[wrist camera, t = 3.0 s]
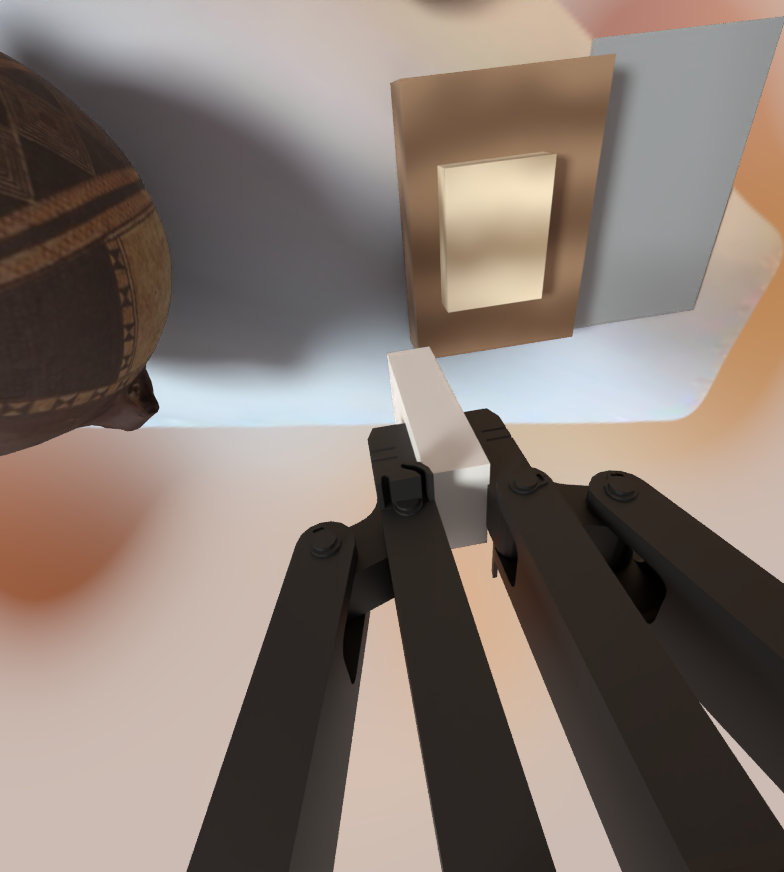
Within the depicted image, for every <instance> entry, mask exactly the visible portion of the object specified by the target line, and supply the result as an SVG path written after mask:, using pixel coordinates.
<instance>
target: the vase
mask: <svg viewBox="0 0 784 872" xmlns="http://www.w3.org/2000/svg"><path fill="white" fill-rule="evenodd" d="M171 281H172V268H171V260H170V252H169V247H168V242H167V238H166V235H165V231H164V228H163V225H162V222H161V220H160V217H159V215H158V213H157V210H156V208H155V206H154V203H153V201H152V199H151V198H150V196H149V194H148V192H147V190H146V188H145V186H144V185H143V183H142V181H141V179H140V177H139V175H138V174H137V172H136V171H135V169H134V168H133V166H132V164H131V163H130V162H129V160H128V159H127V157H126V156H125V155H124V153H123V152H122V151H121V150H120V149H119V148H118V146H117V145H116V144H115V143H114V142H113V141H112V139H111V138H110V137H109V136H108V135H107V134H106V133H105V132H104V131H103V130H102V129H101V128H100V127H99V126H98V125H97V124H96V123H95V122H94V121H93V120H92V119H91V118H90V117H89V116H88V115H87V114H86V113H85V112H84V111H82V110H81V109H80V108H79V107H78V106H77V105H75V104H74V103H73V102H72V101H71V100H69V99H68V98H67V97H66V96H65V95H63V94H62V93H61V92H60V91H59V90H57V89H56V88H55V87H54V86H52V85H51V84H50V83H48V82H47V81H45V80H44V79H42V78H41V77H40V76H38V75H37V74H35V73H34V72H32V71H31V70H29V69H28V68H26V67H25V66H24V65H22V64H21V63H19V62H18V61H16V60H14V59H12V58H11V57H9V56H7V55H5V54H4V53H2V52H0V456H2V455H7V454H10V453H13V452H16V451H20V450H23V449H26V448H29V447H32V446H35V445H38V444H41V443H43V442H45V441H48V440H50V439H52V438H55V437H57V436H60V435H62V434H64V433H66V432H69V431H71V430H74V429H76V428H80V427H85V426H90V425H94V426H102V427H104V428H112V429H121V430H125V431H133V430H136V429H138V428H140V427H141V426H142V425H143V424H144V423H145V422H146V421H147V420H149V419H150V418H151V417H152V416H153V415H154V414H155V413H157V412H158V410H159V405H158V402H157V400H156V398H155V396H154V393H153V386H152V382H151V380H150V377H149V375H148V373H147V370H146V363H147V361H148V360H149V358H150V357H151V355H152V353H153V351H154V350H155V348H156V345H157V343H158V341H159V339H160V336H161V333H162V330H163V327H164V325H165V322H166V319H167V315H168V311H169V305H170V299H171Z"/></svg>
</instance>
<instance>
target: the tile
mask: <svg viewBox="0 0 784 872" xmlns="http://www.w3.org/2000/svg"><path fill="white" fill-rule="evenodd" d="M556 157H557V154H556V153H549V152H536V153H529V154H521V155H513V156H506V157H498V158H490V159H483V160H475V161H468V162H460V163H452V164H445V165H437V170H438V202H439V234H440V266H441V297H442V304H443V306H444V307H445V309H446V310H447V312H448V313H449V312H456V311H462V310H469V309H475V308H482V307H488V306H495V305H502V304H508V303H515V302H521V301H528V300H534V299H541V298H542V290H543V280H544V271H545V261H546V252H547V242H548V233H549V223H550V214H551V204H552V195H553V185H554V176H555V167H556Z"/></svg>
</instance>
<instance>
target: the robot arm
mask: <svg viewBox="0 0 784 872" xmlns="http://www.w3.org/2000/svg"><path fill="white" fill-rule="evenodd" d="M387 356H388V365H389V374H390V382H391V391H392V400H393V408H394V417H395V421H396V425H390V426H384V427H378V428H373V429H372V431H371V433H370V436H369V438H368V445H369V450H370V456H371V463H372V469H373V475H374V481H375V486H376V492H377V504H376V507H375V509H374V510H373V512H372V513H371V514H370V515H369V516H368V517H367V518H366V519H364V520H362V521H361V522H359V523H357V524H355V525H353V526H350V527H347V526H346V525H344V524H342V523H339V522H332V521H330V522H323V523H319V524H317V525H314V526H312V527H310V528H309V529H308V530H306V531H305V532H304V533H303V534H302V535H301V536H300V538H299V540H298V542H297V543H296V546H295V549H294V552H293V555H292V558H291V561H290V564H289V567H288V570H287V573H286V576H285V579H284V582H283V585H282V588H281V591H280V594H279V597H278V600H277V603H276V606H275V609H274V612H273V615H272V618H271V621H270V624H269V627H268V630H267V633H266V636H265V639H264V642H263V645H262V648H261V651H260V654H259V657H258V660H257V663H256V666H255V669H254V671H253V674H252V677H251V681H250V684H249V687H248V689H247V692H246V696H245V698H244V701H243V704H242V707H241V711H240V713H239V716H238V719H237V722H236V725H235V728H234V731H233V734H232V738H231V740H230V743H229V746H228V749H227V752H226V755H225V758H224V761H223V764H222V767H221V770H220V773H219V776H218V779H217V782H216V785H215V788H214V791H213V794H212V797H211V800H210V803H209V806H208V809H207V812H206V815H205V818H204V821H203V824H202V827H201V830H200V833H199V836H198V839H197V842H196V845H195V848H194V851H193V854H192V857H191V860H190V863H189V866H188V869H187V872H333V868H334V860H335V854H336V847H337V840H338V834H339V827H340V819H341V813H342V805H343V798H344V791H345V784H346V778H347V770H348V763H349V756H350V750H351V743H352V736H353V729H354V721H355V715H356V707H357V701H358V694H359V687H360V679H361V673H362V666H363V659H364V652H365V644H366V638H367V631H368V624H369V617H370V610H372V609H374V608H376V607H378V606H379V605H382V604H383V603H385V602H387V601H389V600H390V599H393V598H395V604H396V610H397V616H398V621H399V627H400V632H401V638H402V644H403V650H404V656H405V661H406V667H407V673H408V679H409V684H410V689H411V696H412V702H413V707H414V713H415V718H416V725H417V730H418V735H419V742H420V747H421V753H422V759H423V764H424V771H425V776H426V782H427V787H428V793H429V799H430V805H431V811H432V817H433V822H434V828H435V834H436V839H437V845H438V850H439V856H440V862H441V868H442V872H556V869H555V866H554V863H553V860H552V857H551V854H550V851H549V848H548V845H547V842H546V839H545V836H544V833H543V829H542V826H541V823H540V820H539V817H538V814H537V811H536V808H535V805H534V802H533V799H532V796H531V793H530V790H529V787H528V783H527V780H526V777H525V774H524V771H523V768H522V765H521V762H520V759H519V756H518V753H517V750H516V747H515V744H514V741H513V738H512V734H511V731H510V729H509V726H508V722H507V719H506V716H505V713H504V710H503V707H502V704H501V701H500V698H499V695H498V692H497V689H496V686H495V682H494V679H493V677H492V674H491V670H490V667H489V664H488V661H487V658H486V655H485V652H484V649H483V646H482V643H481V640H480V637H479V633H478V631H477V627H476V624H475V622H474V618H473V615H472V612H471V609H470V606H469V603H468V600H467V597H466V594H465V591H464V588H463V585H462V581H461V578H460V575H459V572H458V569H457V566H456V563H455V560H454V557H453V554H452V551H451V549H454V548H459V547H465V546H470V545H476V544H481V543H487V529H488V531H489V534H490V536H491V538H492V540H493V557H492V575H493V578H495V577H497V570H499V573H500V575H501V578H502V580H503V582H504V585H505V588H506V590H507V592H508V595H509V597H510V599H511V602H512V605H513V607H514V609H515V612H516V614H517V617H518V619H519V622H520V624H521V627H522V629H523V631H524V634H525V636H526V639H527V641H528V643H529V646H530V648H531V651H532V653H533V656H534V658H535V660H536V663H537V666H538V668H539V670H540V673H541V675H542V678H543V680H544V683H545V685H546V687H547V690H548V692H549V695H550V697H551V700H552V702H553V705H554V707H555V709H556V712H557V714H558V717H559V719H560V721H561V724H562V726H563V729H564V731H565V734H566V736H567V739H568V741H569V744H570V746H571V748H572V751H573V753H574V756H575V758H576V761H577V763H578V766H579V768H580V770H581V773H582V775H583V778H584V780H585V782H586V785H587V788H588V790H589V792H590V795H591V797H592V800H593V802H594V805H595V807H596V809H597V812H598V814H599V817H600V819H601V821H602V824H603V826H604V829H605V831H606V834H607V836H608V839H609V841H610V844H611V846H612V848H613V851H614V853H615V856H616V858H617V860H618V863H619V866H620V868H621V870H622V872H784V829H783V828H782V826H781V825H780V823H779V822H778V820H777V819H776V817H775V816H774V814H773V813H772V811H771V810H770V808H769V806H768V805H767V804H766V802H765V801H764V799H763V798H762V796H761V794H760V793H759V791H758V790H757V788H756V787H755V785H754V784H753V782H752V781H751V779H750V778H749V776H748V775H747V773H746V772H745V770H744V769H743V767H742V766H741V764H740V763H739V761H738V760H737V758H736V757H735V755H734V754H733V752H732V751H731V749H730V748H729V747H728V745H727V743H726V742H725V740H724V739H723V737H722V736H721V734H720V733H719V731H718V730H717V728H716V727H715V725H714V724H713V722H712V721H711V719H710V718H709V716H708V715H707V713H706V711H705V710H704V709H703V707H702V705H703V706H704V707H705V708H706V710H707V711H708V712H709V713H710V714H711V715H712V716H713V717H714V718H715V719H716V720H717V721H718V723H720V725H721V726H722V727H723V728H724V729H725V730H726V731H727V732H728V733H729V734H730V735H731V737H732V738H733V739H734V740H735V741H736V742H737V743H738V744H739V745H740V746H741V747H742V748H743V749H744V751H745V752H746V753H747V754H748V755H749V756H750V757H751V758H752V759H753V760H754V761H755V763H756V764H757V765H758V766H759V767H760V768H761V769H762V770H763V771H764V772H765V773H766V774H767V776H769V778H770V779H771V780H772V781H773V782H774V783H775V784H776V785H777V786H778V787H779V788H780V790H782V792H783V793H784V583H782V582H781V581H779V580H778V579H776V578H775V577H774V576H773V575H771V574H770V573H768V572H767V571H766V570H765V569H763V568H762V567H760V566H759V565H758V564H756V563H755V562H754V561H752V560H751V559H750V558H748V557H747V556H745V555H744V554H743V553H741V552H740V551H739V550H737V549H736V548H734V547H733V546H732V545H731V544H729V543H728V542H726V541H725V540H724V539H722V538H721V537H720V536H718V535H717V534H716V533H714V532H713V531H712V530H710V529H709V528H707V527H706V526H705V525H703V524H702V523H701V522H699V521H698V520H697V519H695V518H694V517H692V516H691V515H690V514H688V513H687V512H686V511H684V510H683V509H682V508H680V507H678V506H677V505H676V504H675V503H673V502H672V501H671V500H669V499H668V498H667V497H665V496H664V495H663V494H661V493H660V492H658V491H657V490H656V489H654V488H653V487H652V486H650V485H649V484H648V483H646V482H645V481H643V480H642V479H640V478H638V477H636V476H634V475H633V474H629V473H626V472H622V471H605V472H600V473H598V474H596V475H595V476H593V477H592V479H591V481H590V483H589V486H582V485H566V484H559V483H555V482H553V481H552V479H551V478H550V477H549V476H548V475H547V474H546V473H544V472H542V471H540V470H538V469H536V468H532V467H531V466H530V464H529V463H528V461H527V460H526V458H525V457H524V455H523V454H522V452H521V450H520V449H519V447H518V445H517V444H516V442H515V441H514V439H513V438H511V435H510V433H509V431H508V430H507V429H506V427H505V425H504V423H503V422H502V420H501V419H500V417H499V416H498V415H496V414H495V413H493V412H492V411H490V410H488V409H487V408H486V409H480V410H474V411H468V412H463V410H462V409H461V407H460V405H459V403H458V401H457V399H456V397H455V395H454V393H453V391H452V389H451V387H450V385H449V383H448V381H447V380H446V378H445V376H444V374H443V372H442V370H441V368H440V366H439V364H438V362H437V360H436V358H435V356H434V354H433V353H432V351H431V349H430V347H423V348H417V349H410V350H404V351H398V352H391V353H387ZM700 703H701V704H702V705H701V704H700Z"/></svg>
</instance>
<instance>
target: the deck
mask: <svg viewBox="0 0 784 872" xmlns="http://www.w3.org/2000/svg"><path fill="white" fill-rule="evenodd" d="M615 58H616V53H615V54H607V55H598V56H590V57H581V58H573V59H565V60H556V61H548V62H539V63H531V64H522V65H514V66H506V67H497V68H489V69H480V70H472V71H463V72H455V73H447V74H438V75H430V76H421V77H413V78H404V79H399V80H397V81H394V82H392V83H390V84H391V97H392V109H393V122H394V135H395V148H396V160H397V173H398V186H399V199H400V212H401V224H402V237H403V250H404V263H405V275H406V288H407V301H408V314H409V326H410V339H411V343H412V345H413V347H414V349H417V348H423V347H430V349H431V351H432V353H433V354H434V356H435V358H439V357H446V356H452V355H458V354H465V353H471V352H477V351H484V350H490V349H496V348H503V347H509V346H515V345H522V344H528V343H534V342H541V341H547V340H553V339H559V338H566V337H572V334H573V328H574V322H575V315H576V309H577V302H578V296H579V289H580V283H581V277H582V270H583V264H584V257H585V251H586V244H587V238H588V232H589V225H590V219H591V212H592V206H593V199H594V193H595V187H596V180H597V174H598V167H599V161H600V154H601V148H602V141H603V135H604V129H605V122H606V116H607V109H608V103H609V96H610V90H611V84H612V77H613V71H614V64H615ZM536 152H549V153H556V154H557V157H556V167H555V176H554V185H553V195H552V204H551V214H550V223H549V233H548V242H547V252H546V261H545V271H544V280H543V290H542V298H541V299H534V300H528V301H521V302H515V303H508V304H502V305H495V306H488V307H482V308H475V309H469V310H462V311H456V312H449V313H448V312H447V310H446V309H445V307H444V306H443V304H442V297H441V266H440V234H439V202H438V170H437V165H445V164H452V163H460V162H468V161H475V160H483V159H490V158H498V157H506V156H513V155H521V154H529V153H536Z"/></svg>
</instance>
